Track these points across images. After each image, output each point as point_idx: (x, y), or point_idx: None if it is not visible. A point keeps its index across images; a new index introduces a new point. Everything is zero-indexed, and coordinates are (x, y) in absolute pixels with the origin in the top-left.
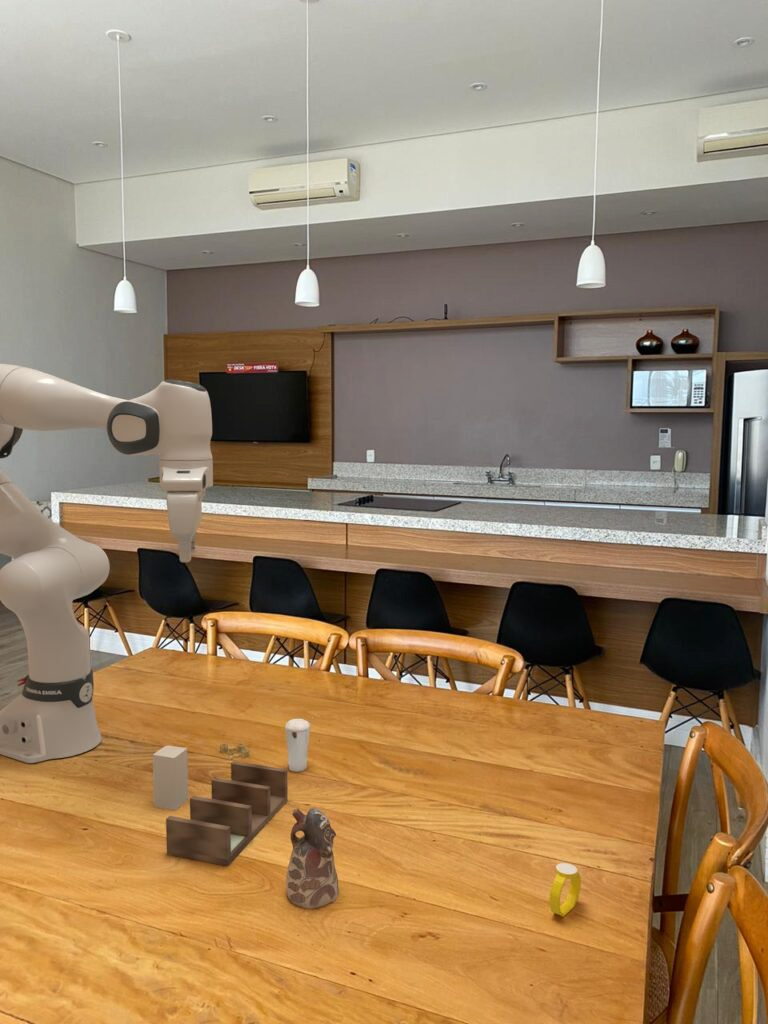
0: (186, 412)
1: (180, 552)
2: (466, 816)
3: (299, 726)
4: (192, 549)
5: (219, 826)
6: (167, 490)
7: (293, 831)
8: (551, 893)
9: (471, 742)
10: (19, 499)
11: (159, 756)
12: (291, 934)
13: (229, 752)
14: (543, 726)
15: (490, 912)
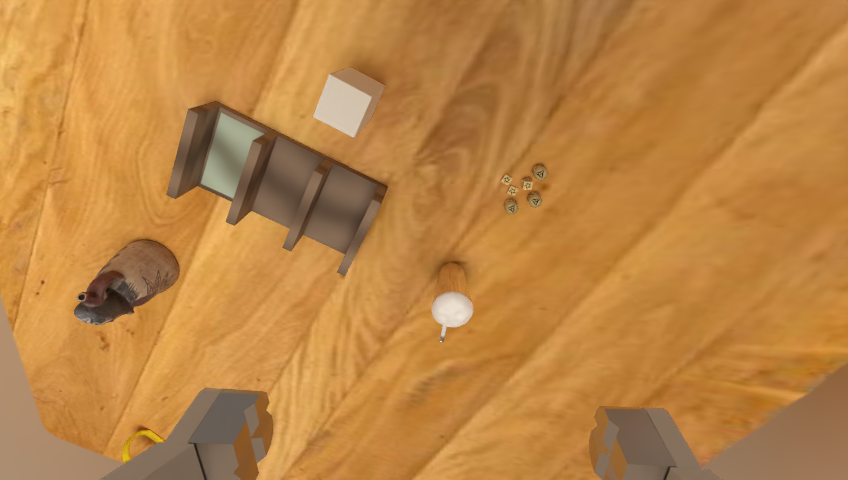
0: None
1: (170, 441)
2: (306, 415)
3: (435, 314)
4: (598, 457)
5: (174, 185)
6: None
7: (92, 282)
8: (127, 443)
9: (488, 463)
10: None
11: (324, 88)
12: (83, 239)
13: (522, 180)
14: None
15: (143, 391)
